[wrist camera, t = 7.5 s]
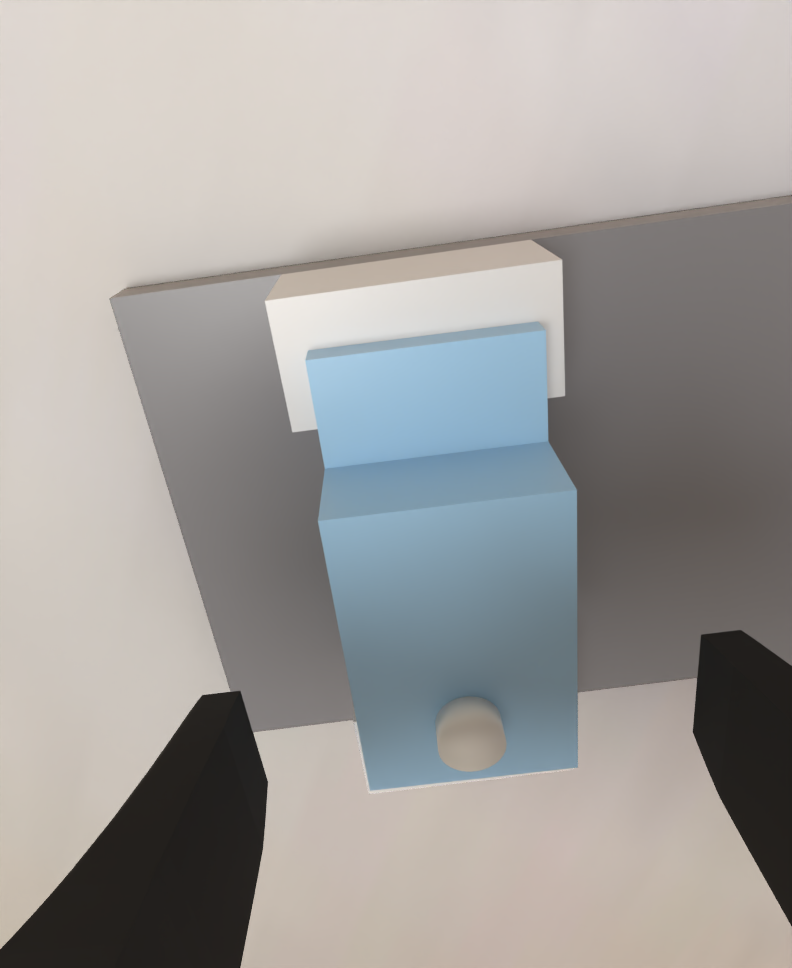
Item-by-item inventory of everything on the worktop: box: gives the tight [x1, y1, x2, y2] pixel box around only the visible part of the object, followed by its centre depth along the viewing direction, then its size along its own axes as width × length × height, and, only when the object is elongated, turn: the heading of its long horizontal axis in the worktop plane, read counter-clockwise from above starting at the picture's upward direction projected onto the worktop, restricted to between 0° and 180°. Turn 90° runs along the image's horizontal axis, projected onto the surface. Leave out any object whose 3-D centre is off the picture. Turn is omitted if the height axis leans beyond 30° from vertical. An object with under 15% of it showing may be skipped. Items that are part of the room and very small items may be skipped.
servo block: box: [305, 322, 578, 791], centre depth 14 cm, size 4×10×6 cm, turn 7°
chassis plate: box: [109, 195, 792, 794], centre depth 16 cm, size 20×12×4 cm, turn 97°
